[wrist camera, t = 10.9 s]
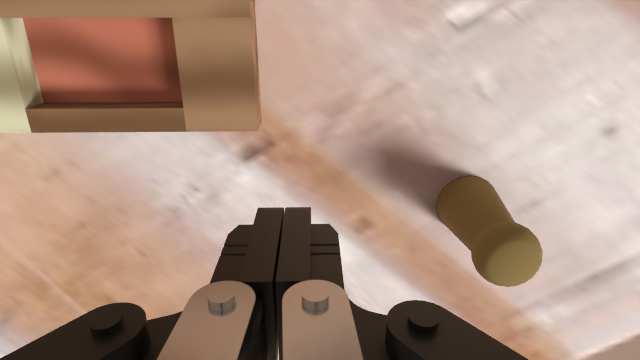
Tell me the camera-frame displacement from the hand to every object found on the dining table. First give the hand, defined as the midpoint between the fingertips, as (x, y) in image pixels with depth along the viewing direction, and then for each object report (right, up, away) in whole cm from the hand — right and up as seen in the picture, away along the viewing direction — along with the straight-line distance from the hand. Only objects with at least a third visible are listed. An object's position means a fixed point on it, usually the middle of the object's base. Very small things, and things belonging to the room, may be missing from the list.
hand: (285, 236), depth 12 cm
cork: (+16, -1, +30) cm, 34 cm away
